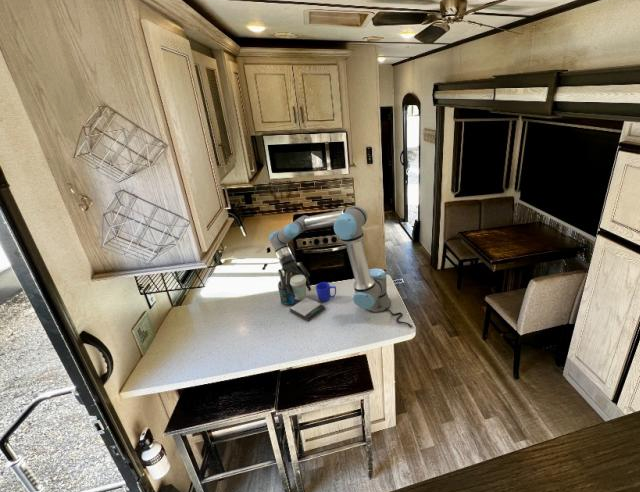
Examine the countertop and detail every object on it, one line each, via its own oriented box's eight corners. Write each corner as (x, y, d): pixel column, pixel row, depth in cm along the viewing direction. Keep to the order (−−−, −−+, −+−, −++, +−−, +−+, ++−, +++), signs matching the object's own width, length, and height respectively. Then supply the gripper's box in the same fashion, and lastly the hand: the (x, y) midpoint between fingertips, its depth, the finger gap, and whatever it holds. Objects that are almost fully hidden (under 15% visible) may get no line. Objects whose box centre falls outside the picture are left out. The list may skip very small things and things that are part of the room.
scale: (324, 309, 194) (324, 304, 192) (307, 321, 184) (307, 317, 183) (307, 300, 201) (306, 296, 200) (290, 312, 192) (289, 307, 190)
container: (277, 299, 202) (274, 276, 196) (296, 293, 209) (294, 270, 203) (284, 309, 194) (281, 285, 188) (304, 302, 201) (302, 278, 195)
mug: (335, 303, 198) (334, 289, 194) (316, 303, 199) (314, 289, 195) (338, 295, 206) (337, 281, 202) (319, 295, 206) (317, 281, 202)
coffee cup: (309, 299, 179) (306, 280, 174) (293, 303, 176) (289, 284, 171) (307, 290, 186) (305, 272, 181) (292, 294, 183) (288, 275, 179)
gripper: (301, 253, 191) (318, 288, 187) (265, 266, 178) (282, 303, 174) (304, 248, 186) (321, 284, 181) (267, 261, 173) (284, 300, 168)
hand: (302, 293), depth 177 cm, fingers closed on coffee cup, 9 cm apart
